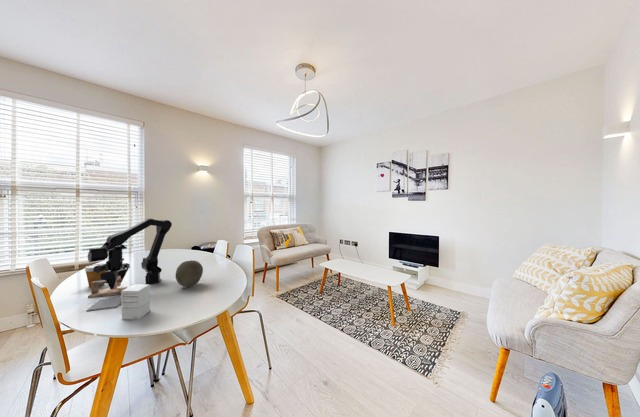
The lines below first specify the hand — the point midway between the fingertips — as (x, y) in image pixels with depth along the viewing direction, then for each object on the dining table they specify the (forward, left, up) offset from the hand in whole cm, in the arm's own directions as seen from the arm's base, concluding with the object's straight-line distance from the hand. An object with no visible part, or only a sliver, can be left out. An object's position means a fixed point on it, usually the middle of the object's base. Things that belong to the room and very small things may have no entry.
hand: (116, 285), depth 122 cm
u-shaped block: (0, 0, -1) cm, 1 cm away
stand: (+3, 0, -3) cm, 5 cm away
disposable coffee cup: (+15, -15, -4) cm, 22 cm away
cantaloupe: (-36, +3, -4) cm, 36 cm away
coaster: (-3, +16, -4) cm, 17 cm away
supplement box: (-20, +33, -4) cm, 39 cm away
